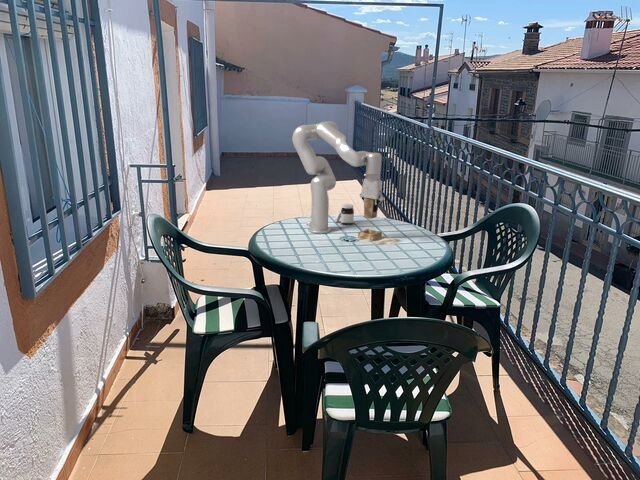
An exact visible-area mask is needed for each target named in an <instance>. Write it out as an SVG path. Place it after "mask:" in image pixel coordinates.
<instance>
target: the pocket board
mask: <svg viewBox="0 0 640 480" xmlns="http://www.w3.org/2000/svg"><path fill="white" fill-rule="evenodd" d="M354 239H356V240H361V241H366V242H370V243H374V244H379V245H383V246H386V247H392V246H394V245H396V244H398V243H400V242H401V243H402V242H403V241H404V240H402V239H399V238H398V239H397V238H392V237H388V236H384V235H383V232H382V231H379V230H375V229H369V228H366V229H363V230H360V231H358V233H357V236H356V237H354Z"/></svg>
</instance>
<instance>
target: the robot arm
mask: <svg viewBox="0 0 640 480" xmlns="http://www.w3.org/2000/svg"><path fill="white" fill-rule="evenodd" d="M291 138H292V144H293V147H294V148H295V150H296V152H297V154H298V156H299V158H300V161H301V163H302V165H303V168H304V170H305V171H306V173H307V174H308V175H311V176H312V175H317V176H315V177H313V178H312V179H311V182H310V184H309V185H310V193H311V217H310V218H311V221H309V220H308V221H307V223H306V226H309V227H308V232H309V233H312V234H328V233H330V232H331V228H330V227H329V209H330V208H329V205H330V204H329V203H330V202H329V200H330V199H329V194H328V191H331V190H333V189H334V188H335V187H336V184H337V181H336V180H337V179H336V177H335V174H334V172H333V169H332V168H331V166H330V164H329V161H328V160H327V159H326V157H323V156H320V155H318V156H317V155H316V153H315V151H314V149H313V146H311V145H310V144H309V142H308V141H316V140H320V139H322V140H324V141H325V142H326V143H328V144H329V145H330V146H331V147H332V148H333V149H334V150H335V151H336V153H337V154H338V155H339V157H340V158H341V159H342V160H343V161H345V162H346V163H347V164H348V165H350V166H352V167H354V168H358V167H363V166H366V167H365V169H366V170H365V172H364V174H363V176H364V177H365V178H364V179H363V183H362V185H361V186H362V187H361V192H360V194H359V197H360V198H361V200H362V201H363V207H364V206H365V198H369V199H374V203H375V204H374V208H373V212H377V213H378V209H379V205H380V203H382V202H383V201H385V197H384V196H383V194H382V193H383V190H382V187H383V186H382V180H381V170H382V154H381V153H380V152H369V151H365V150H359V151H357V150H355V149H353V148H352V147H351V146H350V145H348V143H347V137H346V135H345V134H344V133H342V132H341V131H339V127H338V124H336V122H334V121H332V120H331V121H326V120H325V121H321V122H320V123H313V124H304V125H303V124H302V125H299V126H298V127H296V128H295V129H294V131H293V133H292V137H291Z"/></svg>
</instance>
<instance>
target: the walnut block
mask: <svg viewBox="0 0 640 480" xmlns="http://www.w3.org/2000/svg"><path fill="white" fill-rule="evenodd" d="M374 204H375V203H374V199H369V198H365V206H364V205H363V218H366V219H371V220H372V219H375V218H377V216H378V211H377V212H373V208H374Z"/></svg>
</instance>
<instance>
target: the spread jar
mask: <svg viewBox="0 0 640 480" xmlns="http://www.w3.org/2000/svg"><path fill="white" fill-rule="evenodd" d="M340 210H341V211H338V212H337V213H336V214H335V216H334V222H335V223H339V221H340V224H341V225H342V226H352V225H354V218H355V211H354V210H355V209H354V204H351V203H343V204H341V209H340Z"/></svg>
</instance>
